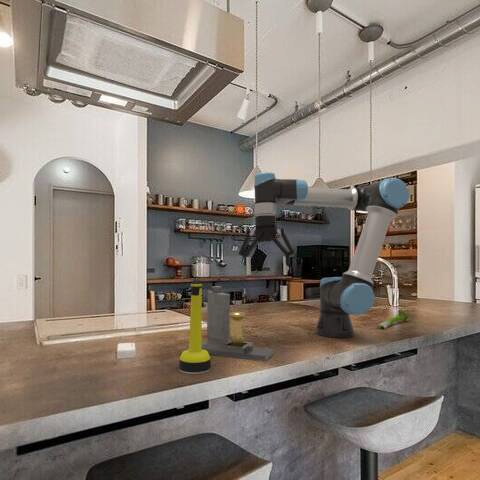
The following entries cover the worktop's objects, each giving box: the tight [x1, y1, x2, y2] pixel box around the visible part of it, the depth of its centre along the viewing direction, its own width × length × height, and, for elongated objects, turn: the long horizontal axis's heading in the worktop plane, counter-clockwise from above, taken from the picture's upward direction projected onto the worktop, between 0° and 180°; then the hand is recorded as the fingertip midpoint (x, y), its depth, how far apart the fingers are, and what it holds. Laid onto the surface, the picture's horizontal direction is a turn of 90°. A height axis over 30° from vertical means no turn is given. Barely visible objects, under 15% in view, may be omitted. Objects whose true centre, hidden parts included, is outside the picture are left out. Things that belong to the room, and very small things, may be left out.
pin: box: [229, 311, 246, 347], centre depth 115 cm, size 5×5×13 cm
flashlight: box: [178, 278, 212, 375], centre depth 100 cm, size 25×9×9 cm
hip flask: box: [206, 285, 231, 340], centre depth 134 cm, size 16×4×20 cm, turn 28°
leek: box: [376, 310, 410, 330], centre depth 169 cm, size 6×7×30 cm
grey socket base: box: [202, 338, 274, 362], centre depth 115 cm, size 22×9×3 cm, turn 69°
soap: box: [116, 342, 137, 360], centre depth 112 cm, size 9×6×3 cm, turn 18°
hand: (266, 274), depth 128 cm, fingers open, 13 cm apart
